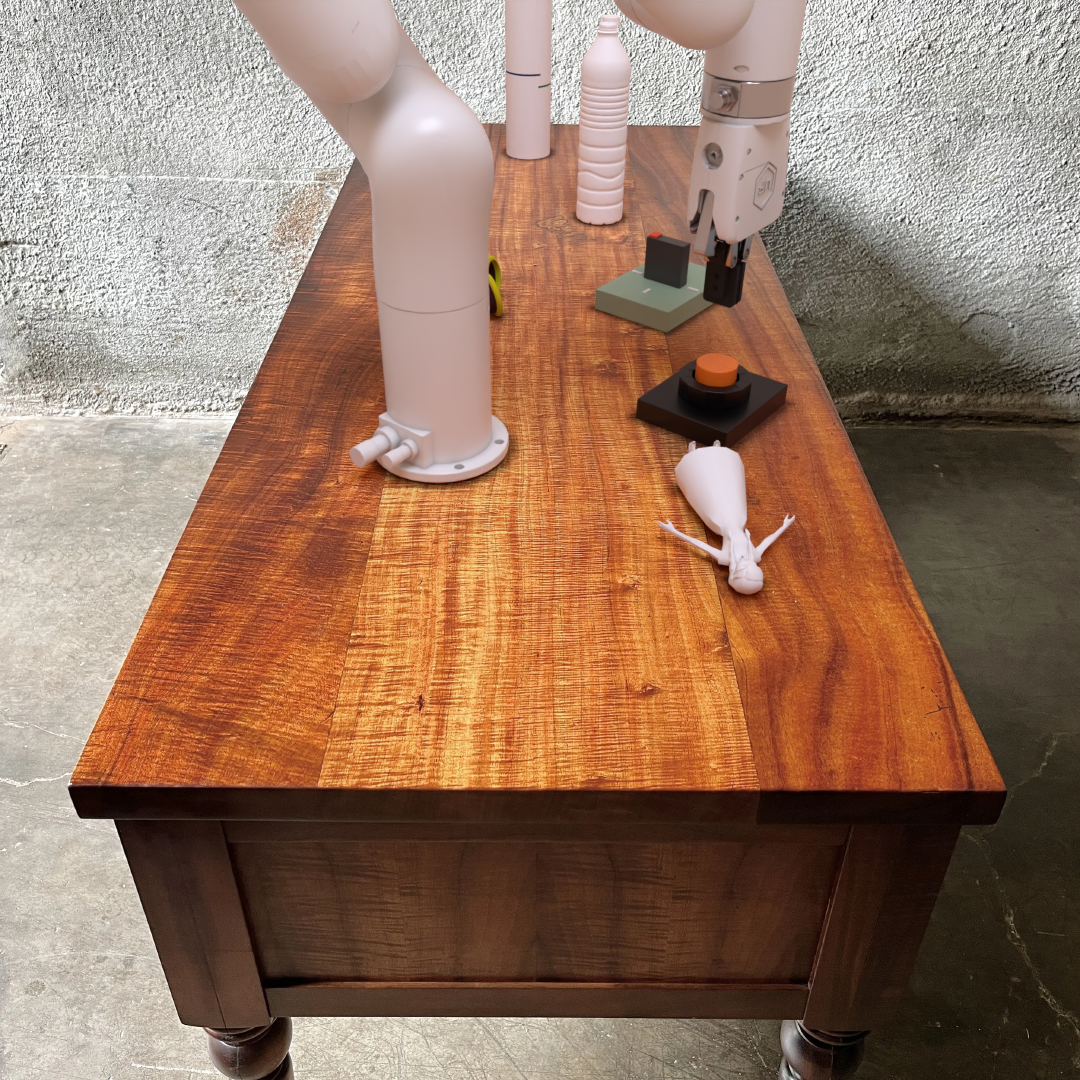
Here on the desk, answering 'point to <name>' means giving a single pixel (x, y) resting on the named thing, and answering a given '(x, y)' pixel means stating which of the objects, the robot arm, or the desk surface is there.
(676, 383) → the button housing
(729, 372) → the button
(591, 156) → the water bottle
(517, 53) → the cylindrical container
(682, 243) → the knob
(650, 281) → the knob panel
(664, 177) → the desk surface
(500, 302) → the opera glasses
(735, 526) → the woman figurine
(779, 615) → the desk surface
